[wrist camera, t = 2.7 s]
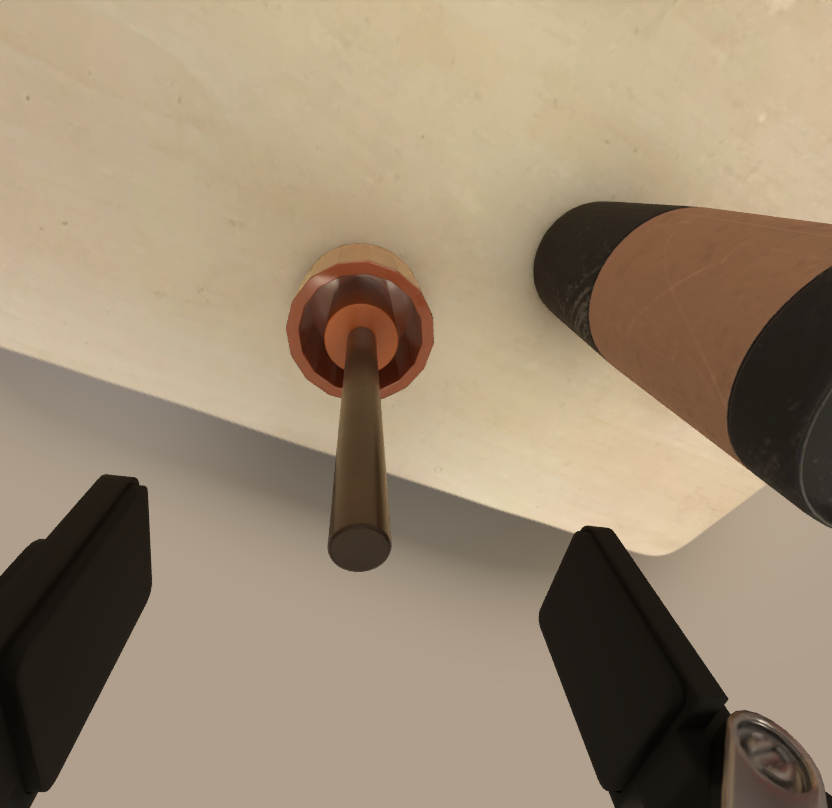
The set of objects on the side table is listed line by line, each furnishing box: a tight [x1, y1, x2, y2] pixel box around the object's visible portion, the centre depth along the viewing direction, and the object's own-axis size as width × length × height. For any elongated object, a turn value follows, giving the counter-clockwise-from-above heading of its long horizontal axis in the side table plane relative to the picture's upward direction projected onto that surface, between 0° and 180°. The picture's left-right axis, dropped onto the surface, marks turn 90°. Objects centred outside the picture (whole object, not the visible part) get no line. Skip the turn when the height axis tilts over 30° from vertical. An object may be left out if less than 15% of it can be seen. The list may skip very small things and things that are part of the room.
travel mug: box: [534, 202, 832, 528], centre depth 20 cm, size 8×8×20 cm
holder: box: [286, 243, 434, 399], centre depth 26 cm, size 7×7×6 cm
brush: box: [324, 277, 398, 572], centre depth 19 cm, size 4×4×20 cm
